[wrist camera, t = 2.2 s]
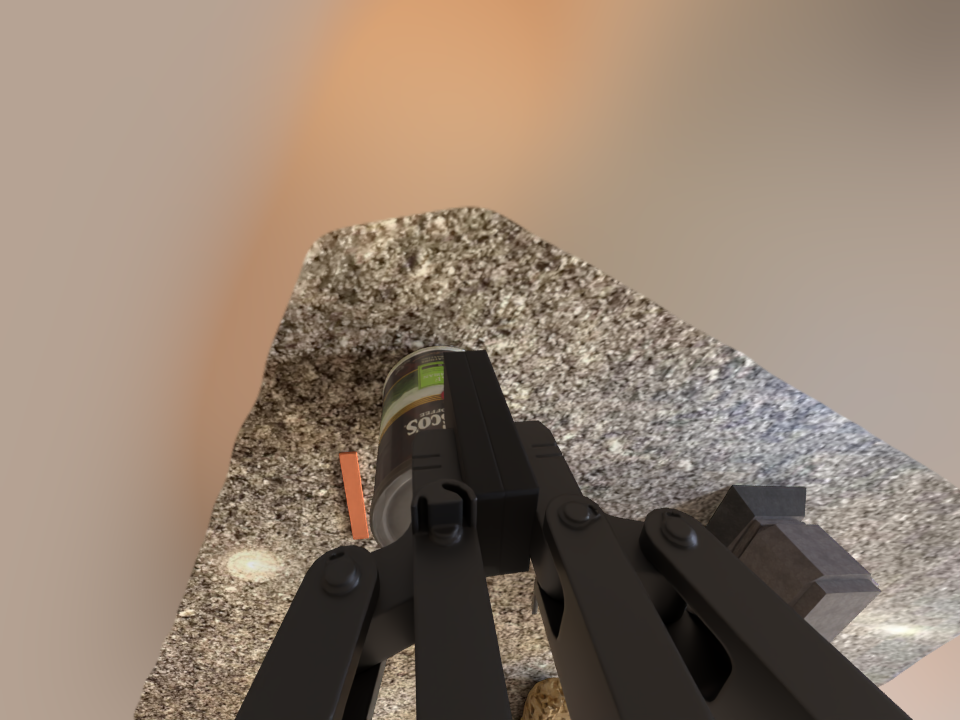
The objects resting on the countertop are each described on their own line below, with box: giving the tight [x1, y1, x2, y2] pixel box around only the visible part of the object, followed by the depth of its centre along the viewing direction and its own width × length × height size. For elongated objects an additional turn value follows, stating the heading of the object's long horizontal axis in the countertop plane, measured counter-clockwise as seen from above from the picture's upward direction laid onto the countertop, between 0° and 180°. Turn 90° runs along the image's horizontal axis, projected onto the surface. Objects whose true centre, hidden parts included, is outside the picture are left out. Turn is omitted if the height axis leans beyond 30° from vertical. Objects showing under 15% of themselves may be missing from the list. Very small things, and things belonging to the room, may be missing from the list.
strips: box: [339, 452, 369, 540], centre depth 43 cm, size 12×19×1 cm, turn 88°
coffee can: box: [370, 346, 464, 548], centre depth 31 cm, size 10×10×14 cm
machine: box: [706, 485, 881, 643], centre depth 48 cm, size 30×16×24 cm, turn 169°
